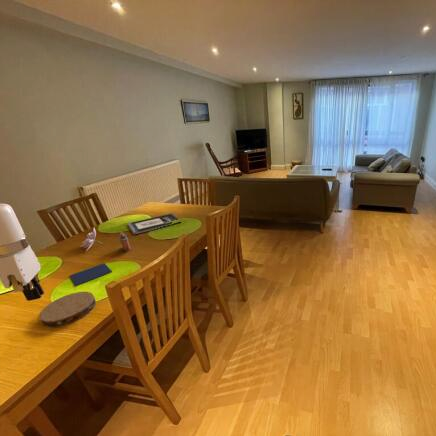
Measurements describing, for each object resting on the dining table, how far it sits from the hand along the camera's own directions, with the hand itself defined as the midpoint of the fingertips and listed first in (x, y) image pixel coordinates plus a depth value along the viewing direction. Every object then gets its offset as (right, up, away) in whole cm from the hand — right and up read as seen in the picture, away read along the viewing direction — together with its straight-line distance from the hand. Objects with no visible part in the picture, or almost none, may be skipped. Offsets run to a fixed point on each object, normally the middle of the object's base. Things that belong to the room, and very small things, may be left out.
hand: (36, 296), depth 76 cm
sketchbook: (-17, +21, +96) cm, 100 cm away
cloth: (-16, -2, +40) cm, 43 cm away
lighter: (-14, +7, +63) cm, 65 cm away
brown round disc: (-5, -12, +18) cm, 22 cm away
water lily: (-37, +8, +66) cm, 76 cm away
